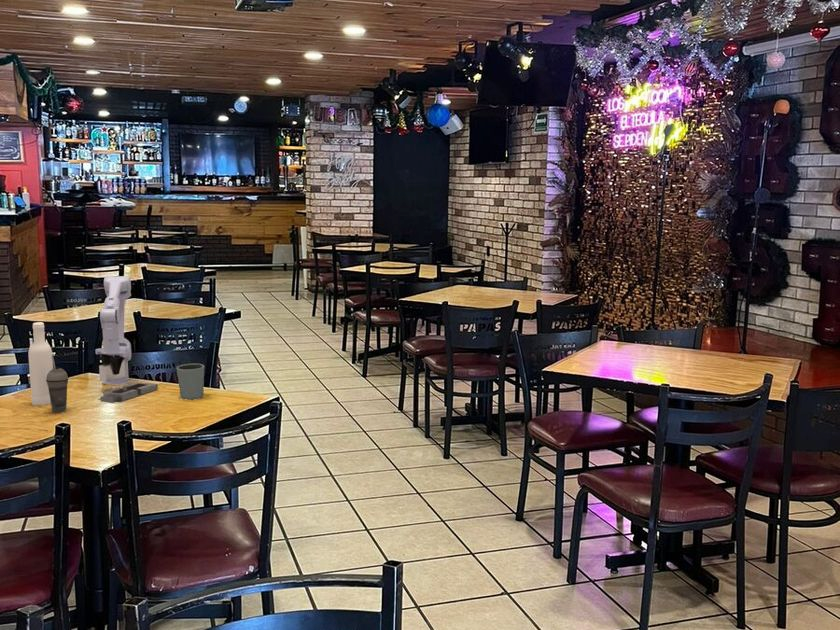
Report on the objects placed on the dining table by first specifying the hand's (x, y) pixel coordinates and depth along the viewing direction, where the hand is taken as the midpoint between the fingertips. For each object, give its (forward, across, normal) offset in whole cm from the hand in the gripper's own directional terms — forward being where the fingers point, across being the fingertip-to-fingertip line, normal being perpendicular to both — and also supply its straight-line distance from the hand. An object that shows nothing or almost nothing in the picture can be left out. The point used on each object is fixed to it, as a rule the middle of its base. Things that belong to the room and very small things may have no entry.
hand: (112, 373), depth 309 cm
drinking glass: (+8, +32, +7) cm, 33 cm away
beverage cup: (+8, +2, -28) cm, 29 cm away
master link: (+2, 0, 0) cm, 2 cm away
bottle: (+8, -12, -23) cm, 27 cm away
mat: (+7, +8, -1) cm, 11 cm away
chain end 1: (+7, +9, -8) cm, 14 cm away
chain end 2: (+7, +9, +5) cm, 13 cm away
